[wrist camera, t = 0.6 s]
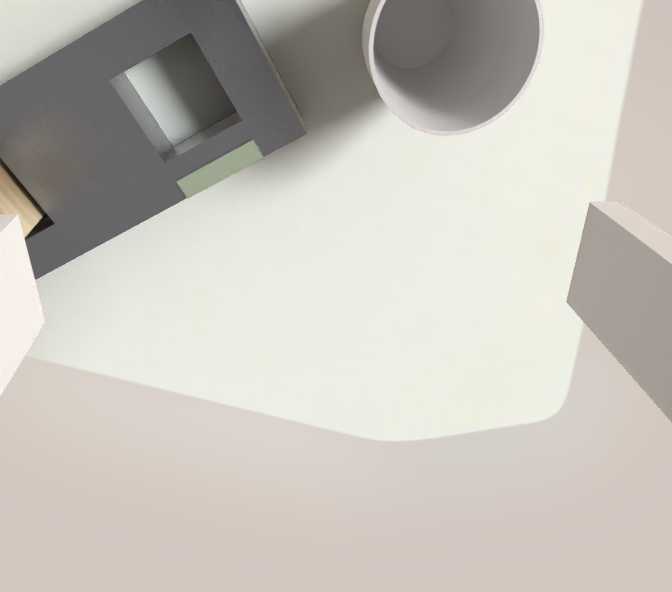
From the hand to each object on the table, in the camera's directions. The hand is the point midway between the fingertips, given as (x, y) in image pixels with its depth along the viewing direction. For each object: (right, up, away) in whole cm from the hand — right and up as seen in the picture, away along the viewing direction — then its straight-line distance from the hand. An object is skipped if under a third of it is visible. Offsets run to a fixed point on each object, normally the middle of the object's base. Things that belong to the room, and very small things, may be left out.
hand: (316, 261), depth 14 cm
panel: (-15, +9, +23) cm, 29 cm away
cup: (+5, +15, +22) cm, 27 cm away
